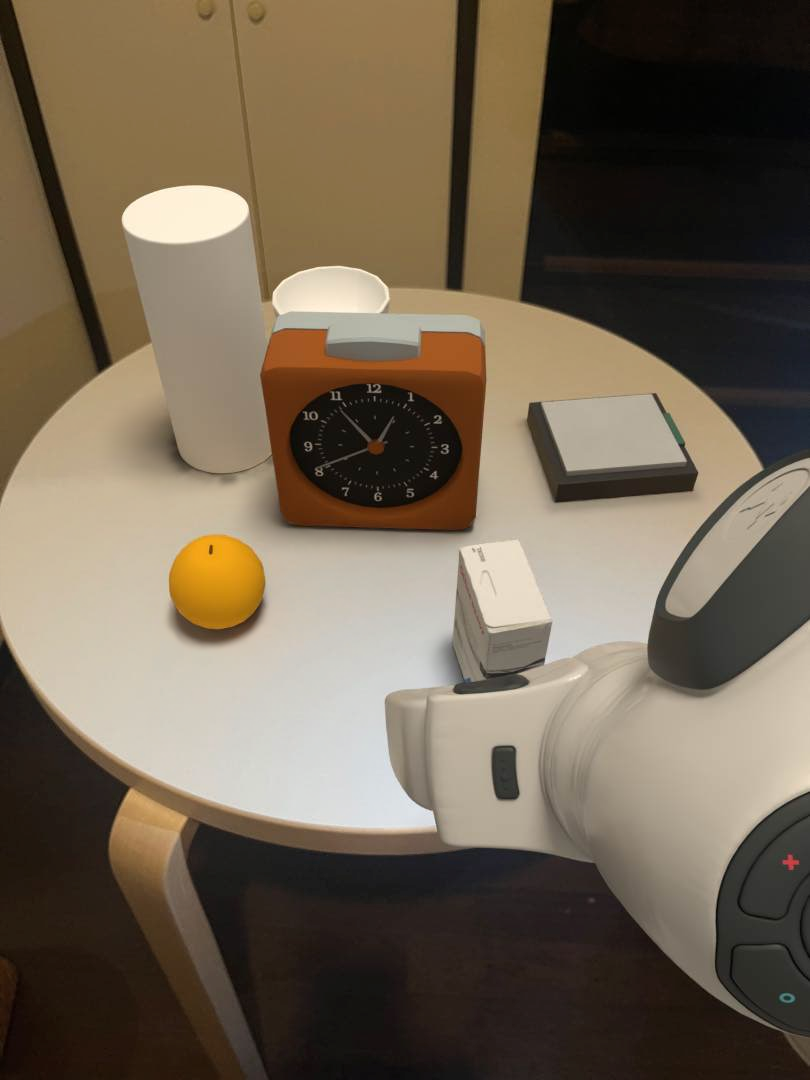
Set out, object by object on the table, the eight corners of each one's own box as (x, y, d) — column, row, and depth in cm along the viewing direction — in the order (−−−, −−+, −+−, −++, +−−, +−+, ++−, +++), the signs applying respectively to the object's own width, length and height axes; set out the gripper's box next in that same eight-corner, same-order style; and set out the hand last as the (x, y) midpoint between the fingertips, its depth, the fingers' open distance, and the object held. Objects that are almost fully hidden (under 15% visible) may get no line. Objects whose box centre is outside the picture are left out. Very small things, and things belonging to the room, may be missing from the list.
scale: (651, 410, 95) (657, 387, 92) (693, 490, 86) (700, 467, 83) (526, 420, 93) (529, 397, 91) (555, 502, 85) (559, 478, 82)
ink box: (538, 714, 68) (557, 621, 59) (477, 726, 67) (487, 633, 59) (506, 630, 74) (519, 534, 65) (450, 640, 73) (455, 544, 64)
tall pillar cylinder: (300, 435, 92) (274, 208, 74) (225, 488, 86) (177, 255, 68) (232, 396, 96) (192, 173, 78) (156, 444, 91) (94, 215, 73)
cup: (260, 394, 97) (247, 307, 89) (320, 340, 104) (313, 255, 96) (355, 428, 92) (350, 340, 84) (410, 369, 100) (411, 282, 92)
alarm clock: (280, 528, 82) (252, 343, 67) (293, 467, 88) (269, 285, 73) (474, 533, 82) (489, 348, 67) (473, 472, 88) (487, 289, 73)
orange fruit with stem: (162, 634, 73) (143, 575, 68) (198, 567, 79) (182, 508, 73) (251, 651, 72) (238, 593, 67) (281, 581, 77) (272, 522, 72)
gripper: (865, 652, 37) (720, 618, 51) (392, 699, 35) (375, 650, 49) (875, 797, 37) (728, 724, 51) (404, 851, 35) (384, 760, 49)
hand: (552, 688), depth 50 cm, fingers open, 8 cm apart
